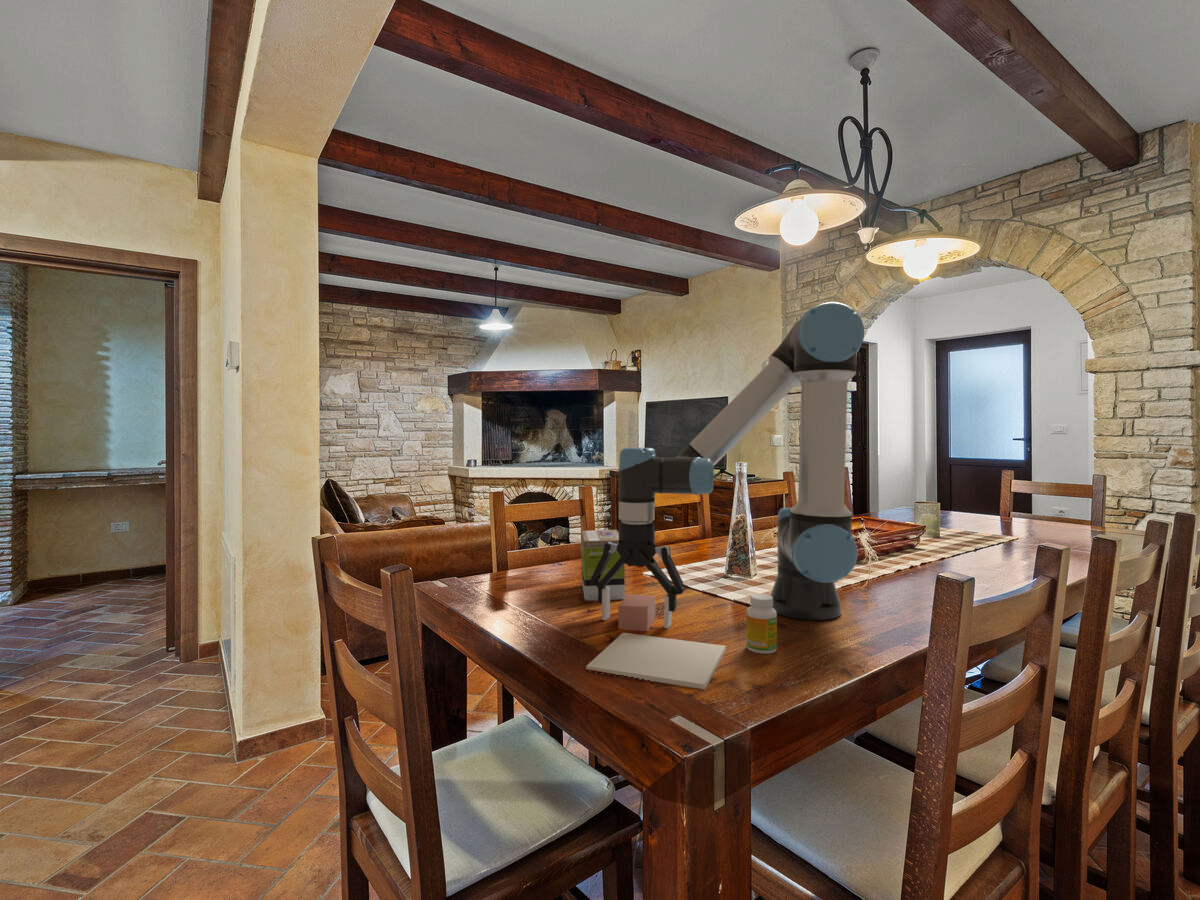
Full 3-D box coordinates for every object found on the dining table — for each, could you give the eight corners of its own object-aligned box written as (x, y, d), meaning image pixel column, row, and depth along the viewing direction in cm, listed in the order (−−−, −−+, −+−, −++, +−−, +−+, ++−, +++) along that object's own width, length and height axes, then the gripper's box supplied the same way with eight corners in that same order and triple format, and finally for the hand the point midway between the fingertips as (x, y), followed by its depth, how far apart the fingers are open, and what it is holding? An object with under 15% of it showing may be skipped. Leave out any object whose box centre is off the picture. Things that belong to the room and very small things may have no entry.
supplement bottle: (772, 656, 105) (772, 602, 105) (742, 651, 108) (742, 598, 108) (780, 647, 110) (780, 595, 110) (751, 642, 113) (751, 591, 112)
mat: (725, 650, 108) (725, 645, 108) (704, 689, 92) (705, 684, 92) (622, 636, 116) (622, 632, 116) (586, 670, 99) (586, 666, 99)
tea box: (580, 585, 156) (580, 529, 156) (618, 584, 157) (618, 528, 156) (583, 601, 141) (583, 539, 141) (625, 600, 142) (625, 538, 141)
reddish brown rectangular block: (655, 618, 128) (655, 595, 128) (647, 632, 119) (647, 607, 119) (628, 616, 129) (628, 593, 129) (618, 629, 121) (618, 605, 121)
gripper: (700, 522, 123) (699, 624, 123) (588, 516, 132) (588, 610, 132) (691, 527, 116) (690, 635, 116) (574, 520, 125) (574, 620, 126)
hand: (636, 622), depth 124 cm, fingers open, 13 cm apart
